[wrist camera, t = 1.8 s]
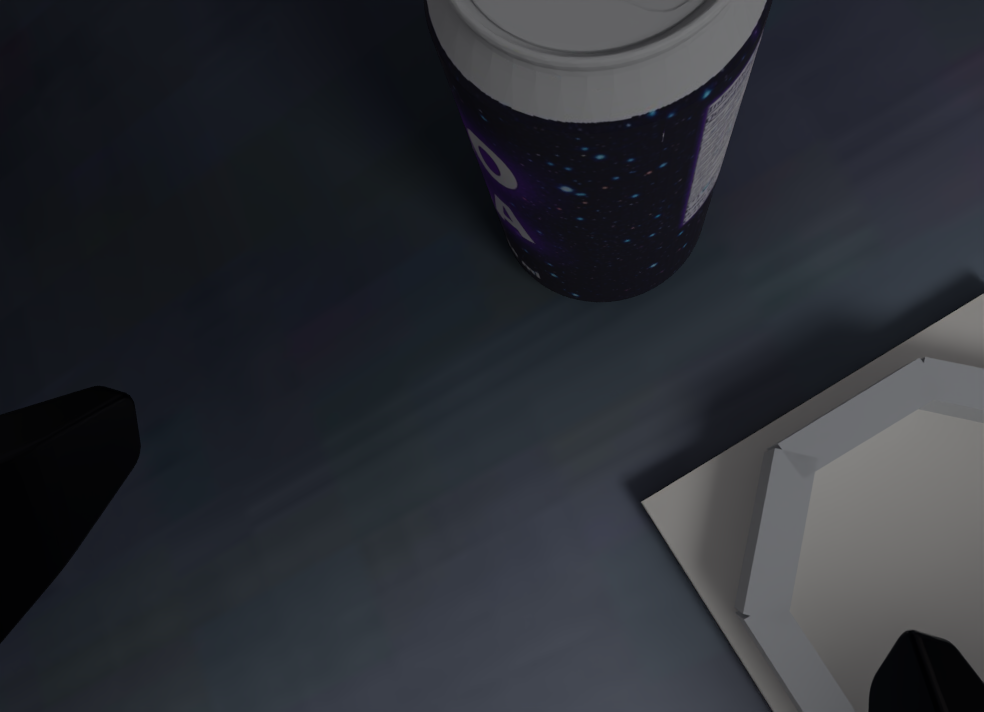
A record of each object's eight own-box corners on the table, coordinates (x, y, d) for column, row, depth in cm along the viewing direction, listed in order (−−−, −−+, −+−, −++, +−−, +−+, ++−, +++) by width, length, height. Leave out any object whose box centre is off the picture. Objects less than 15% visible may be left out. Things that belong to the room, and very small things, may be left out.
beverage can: (590, 93, 24) (571, -309, 12) (742, 202, 23) (882, -135, 11) (467, 231, 24) (328, -47, 12) (613, 350, 22) (617, 165, 11)
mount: (897, 909, 19) (931, 955, 17) (640, 502, 21) (643, 500, 19) (1304, 668, 18) (1386, 686, 16) (991, 288, 21) (1030, 265, 19)
